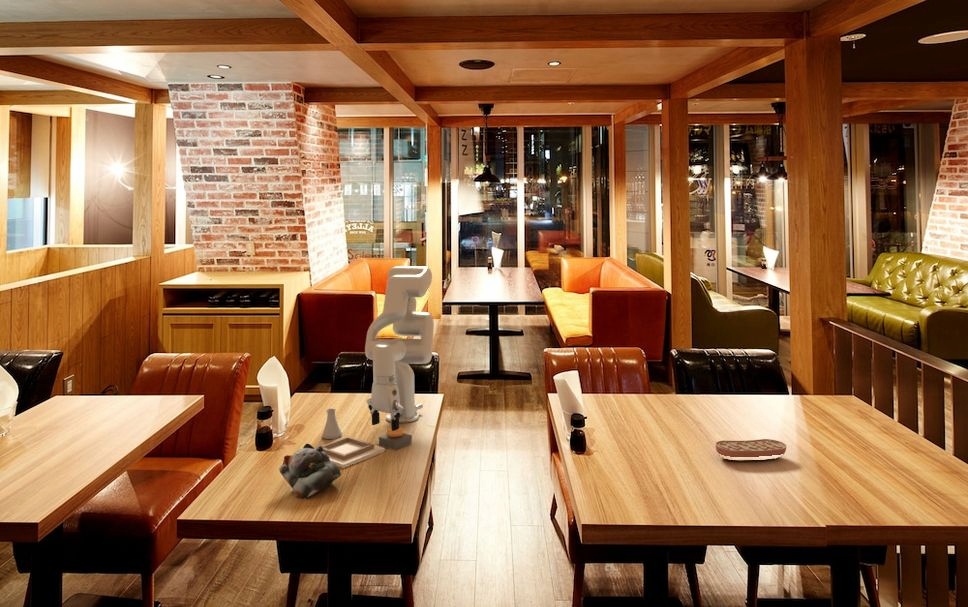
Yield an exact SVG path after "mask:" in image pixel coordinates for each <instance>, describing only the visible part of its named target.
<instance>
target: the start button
mask: <svg viewBox="0 0 968 607" xmlns="http://www.w3.org/2000/svg"><path fill="white" fill-rule="evenodd" d="M385 432H386V433H385V434H387V436H390V437H394V438H396V437H399V436H402V435H403V434H404V433H405V428H404V427H402V426H399V429H397V430H394V431H392V430H391V426H390V427H388V428H386V431H385Z"/></svg>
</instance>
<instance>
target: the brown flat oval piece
mask: <svg viewBox="0 0 968 607" xmlns="http://www.w3.org/2000/svg"><path fill="white" fill-rule="evenodd" d="M715 450H716V452H718V453H719V454H721V455H724V456H730V457H759V456H772V455H781V454H783V455H784V454H786V451H787V445H786V443H784V442H782V441H780V440H776V439H769V438H762V439H751V440H750V439H749V440H718V441H716V443H715ZM718 453H717V454H718ZM719 454H718V455H719Z"/></svg>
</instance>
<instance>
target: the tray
mask: <svg viewBox="0 0 968 607" xmlns="http://www.w3.org/2000/svg"><path fill="white" fill-rule="evenodd" d="M321 446H322V447H323V450H324V452H325V453H326V454H327V455H328V456H329V459H330V462H332V463H334V464H336V465H337V466H338V467H339V468H341V469H345V467H346V468H348V467H351V466H353V465H355V464H357V462H358V463H360V462H362V461H365V460H368V459H370V458H372V456H373V457H374V455H375V456H378V455H380V454H382V453H385V452H386V447H383V446H380V445H376V444H374V443H370V442H368V441H364V440H361V439H359V438H354V437H352V436H344V437H342V438H338V439H335V440H334V441H331V442H328V443H326V444H322V445H321ZM384 451H385V452H384ZM379 453H380V454H379ZM377 454H378V455H377ZM369 457H370V458H369ZM367 458H368V459H367ZM352 464H353V465H352ZM350 465H351V466H350Z"/></svg>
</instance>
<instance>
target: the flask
mask: <svg viewBox="0 0 968 607" xmlns="http://www.w3.org/2000/svg"><path fill="white" fill-rule="evenodd" d="M326 413H327V414H326V416H327V418H326V423H325V427H324V428H323V429H324V430H323V433H322V435H321V439H325V440H338V439H340V438H341V437H342V436H343V432H342V430H341V428H340V425H339V422H338V420H337V417H336V408H334V407H332V408H328V409H326Z"/></svg>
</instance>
